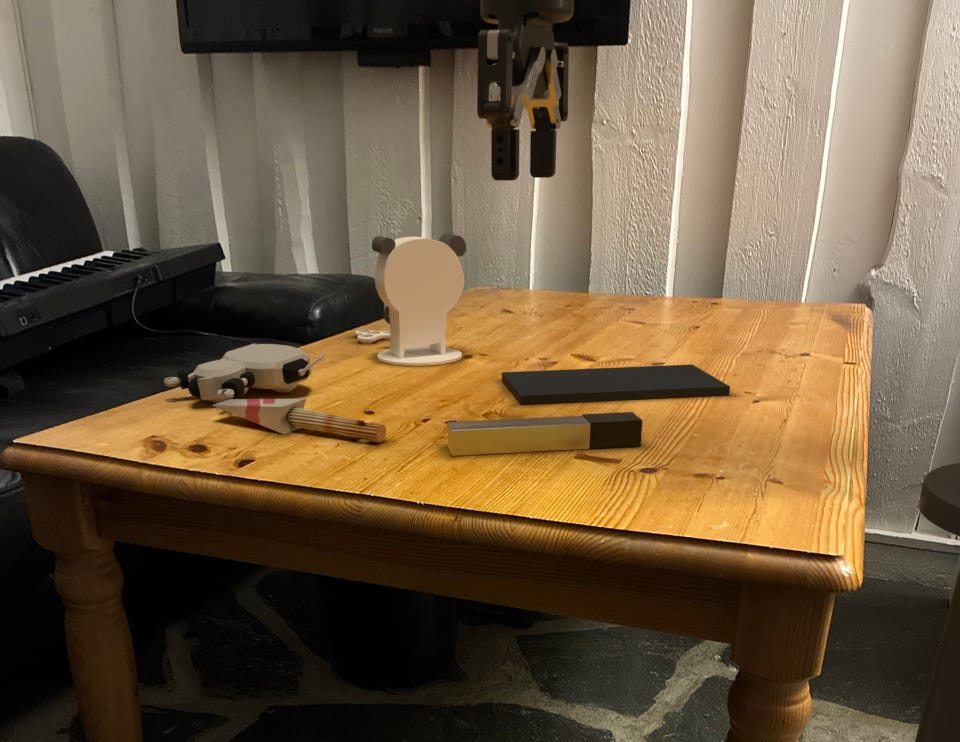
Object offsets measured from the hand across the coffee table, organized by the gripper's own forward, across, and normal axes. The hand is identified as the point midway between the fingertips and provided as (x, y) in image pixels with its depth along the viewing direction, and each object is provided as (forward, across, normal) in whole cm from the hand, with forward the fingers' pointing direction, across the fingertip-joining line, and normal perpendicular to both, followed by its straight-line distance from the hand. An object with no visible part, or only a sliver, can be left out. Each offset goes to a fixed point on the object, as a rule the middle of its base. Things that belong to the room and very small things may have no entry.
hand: (524, 178), depth 81 cm
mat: (+23, +23, -2) cm, 32 cm away
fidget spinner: (+22, +39, +39) cm, 59 cm away
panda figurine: (+23, +30, +27) cm, 46 cm away
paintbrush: (+23, -7, +21) cm, 32 cm away
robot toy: (+23, +3, +35) cm, 42 cm away
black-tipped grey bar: (+23, -3, -3) cm, 23 cm away
